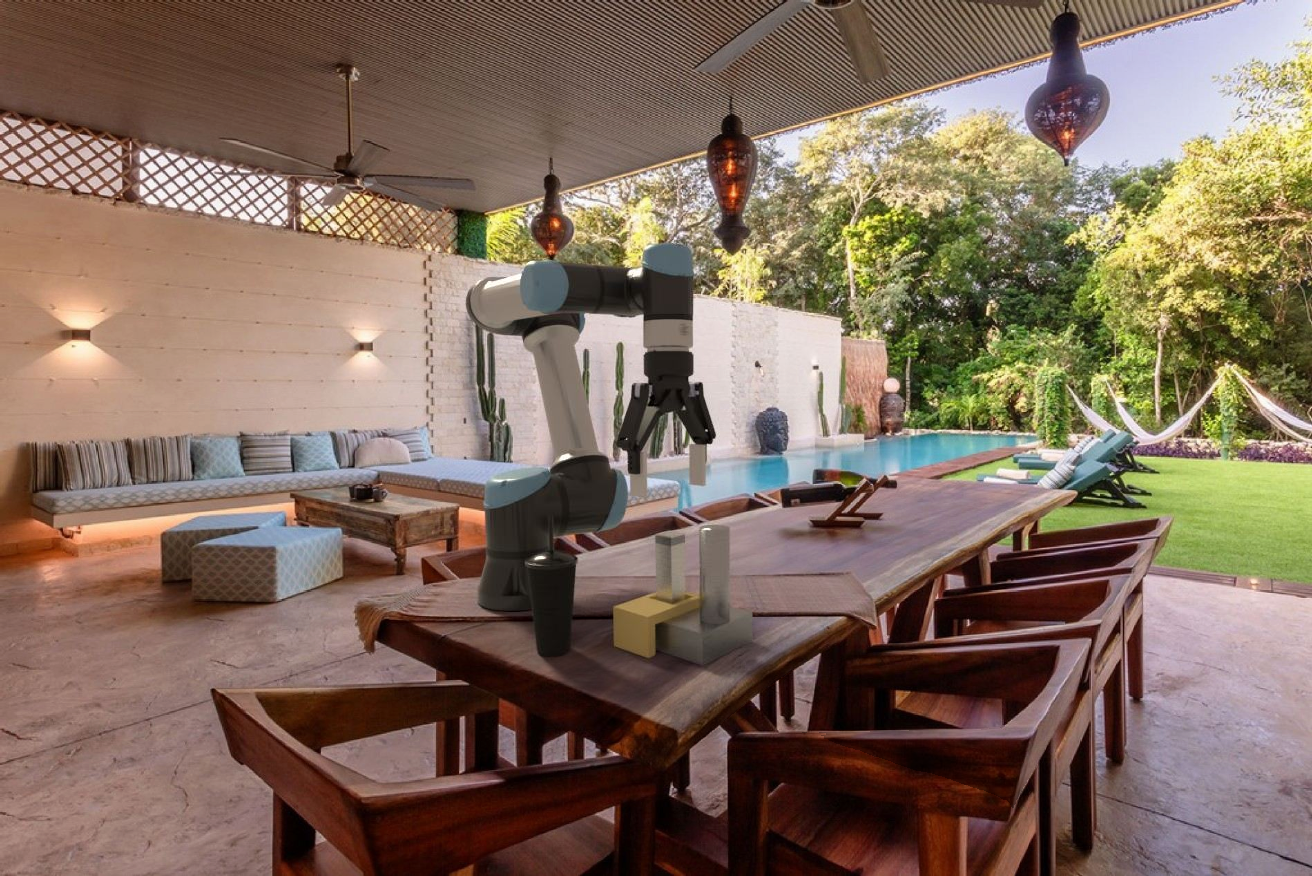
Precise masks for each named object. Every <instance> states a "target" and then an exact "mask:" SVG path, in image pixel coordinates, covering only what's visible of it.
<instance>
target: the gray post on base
mask: <svg viewBox="0 0 1312 876" xmlns="http://www.w3.org/2000/svg"><path fill="white" fill-rule="evenodd" d="M698 531H699V532H698V533H699V534H698V535H699V536H698V537H699V539H698V541H699V543H698V545H699V546H698V547H699V550H698V551H699V552H698V553H699V556H698V557H699V558H698V559H699V572H698V573H699V594H700V607H699V608H696V609H694V610H691V611H688V612H686V613H683V614H681V615H678V616H676V617H673V618H671V619H668V620H665V621H663V622H660V623H658V624H655V651H659V652H661V653H664V654H666V655H667V654H668V655H670V656H673V657H677V658H679V659H682V660H685V661H689V662H692V663H694V664H698V665H700V666H704V665H705V666H706V665H707V664H709V663H711V662H714V661H715V660H717V659H719V658H721V657H724V656H725V655H727V654H729V653H731V652H734V651H735V650H738V649H739V648H741V647H743V646H745V645H747V644H749V643H752V642H753V611H749V610H746V609H742V608H738V607H734V606H730V605H731V604H730V603H731V598H730V597H731V594H730V593H731V582H730V581H731V579H730V577H731V573H730V572H731V566H730V563H731V562H730V561H731V553H730V552H731V547H730V544H731V543H730V542H731V541H730V539H731V537H730V536H731V535H730V534H731V530H730V526H727V525H722V524H706V525H701V526H699V527H698Z"/></svg>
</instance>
